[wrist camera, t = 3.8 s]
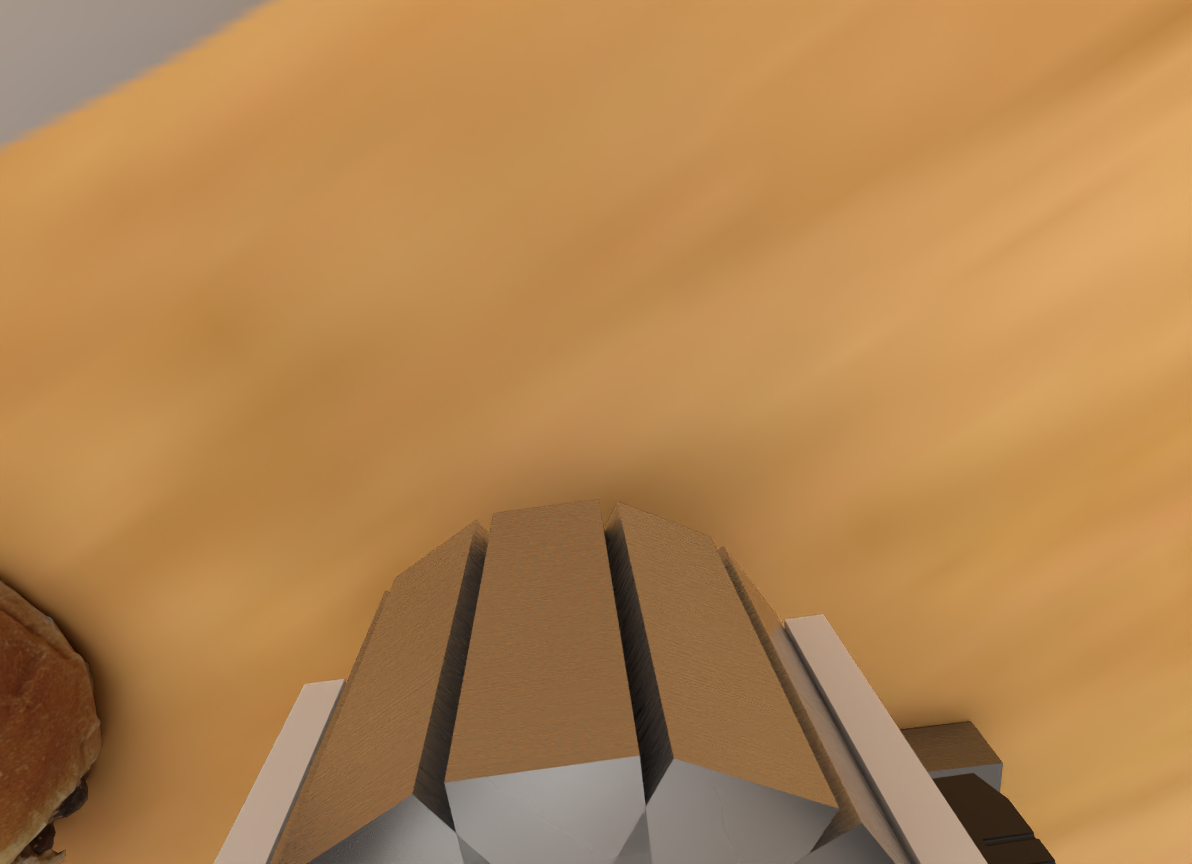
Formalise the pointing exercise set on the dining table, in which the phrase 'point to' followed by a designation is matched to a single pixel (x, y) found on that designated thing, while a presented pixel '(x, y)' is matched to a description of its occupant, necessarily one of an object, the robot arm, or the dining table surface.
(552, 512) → the tube
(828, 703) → the robot arm
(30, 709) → the bread roll
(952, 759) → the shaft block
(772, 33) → the dining table surface
